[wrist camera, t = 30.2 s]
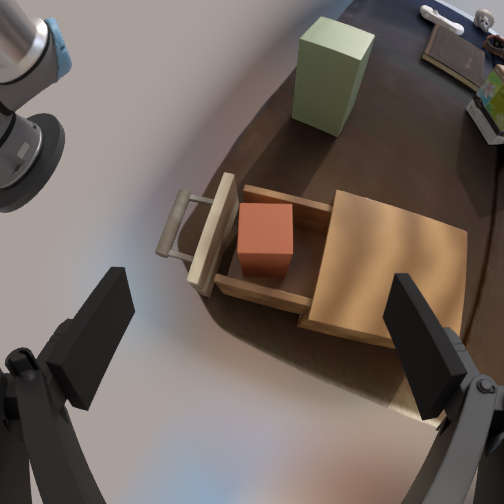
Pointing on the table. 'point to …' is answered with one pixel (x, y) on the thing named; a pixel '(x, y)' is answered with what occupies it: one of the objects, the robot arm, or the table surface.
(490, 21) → the toy rhinoceros
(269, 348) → the table surface
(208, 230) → the drawer
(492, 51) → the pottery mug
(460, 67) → the hardcover book
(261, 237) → the block
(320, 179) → the table surface
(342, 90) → the stand
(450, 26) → the game controller
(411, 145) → the table surface
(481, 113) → the tea box
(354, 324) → the cabinet
